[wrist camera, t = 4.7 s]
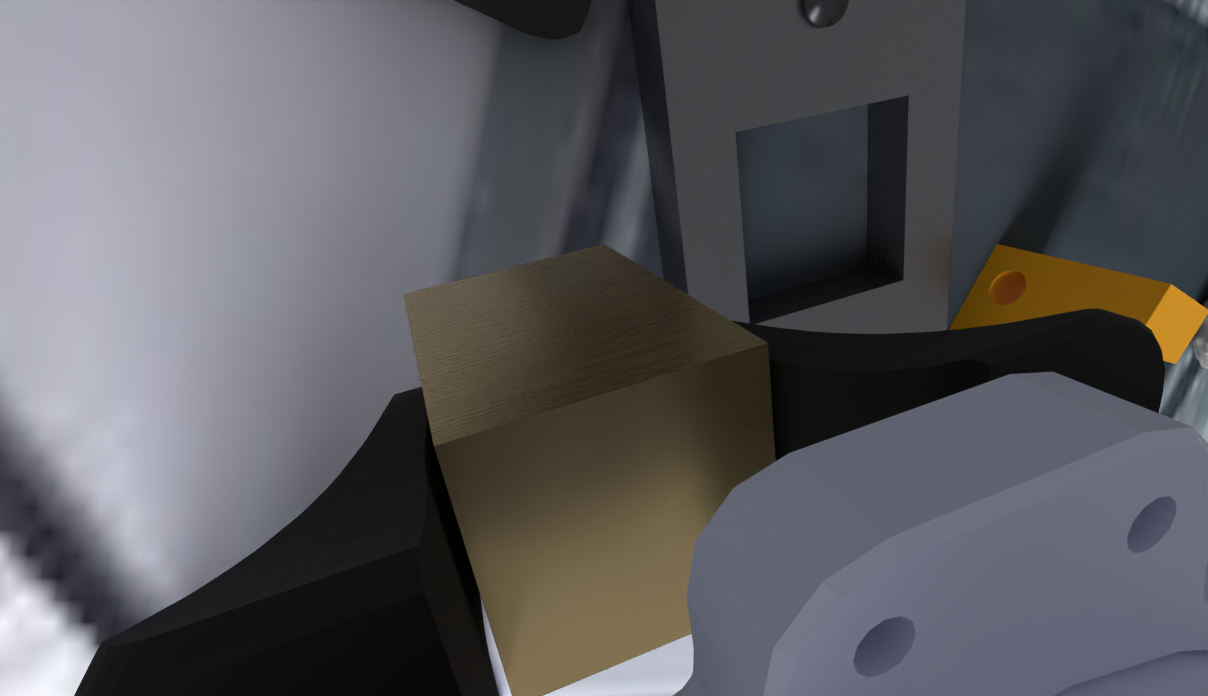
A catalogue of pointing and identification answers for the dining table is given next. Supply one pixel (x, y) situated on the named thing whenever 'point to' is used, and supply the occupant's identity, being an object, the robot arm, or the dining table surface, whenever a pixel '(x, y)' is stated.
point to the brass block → (586, 449)
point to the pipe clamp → (1077, 296)
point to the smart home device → (536, 15)
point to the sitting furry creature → (1202, 341)
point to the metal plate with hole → (792, 91)
